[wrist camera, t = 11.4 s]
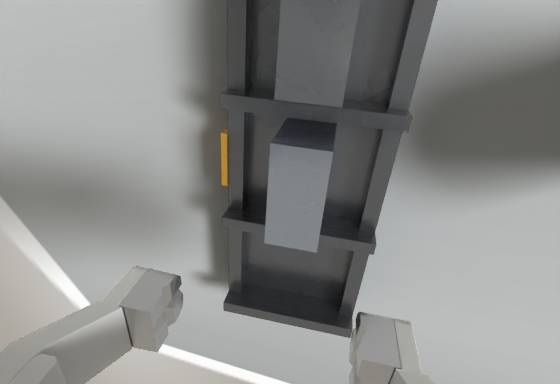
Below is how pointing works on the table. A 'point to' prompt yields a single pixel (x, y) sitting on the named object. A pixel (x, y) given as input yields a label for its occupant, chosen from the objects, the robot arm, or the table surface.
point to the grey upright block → (298, 183)
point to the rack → (347, 148)
